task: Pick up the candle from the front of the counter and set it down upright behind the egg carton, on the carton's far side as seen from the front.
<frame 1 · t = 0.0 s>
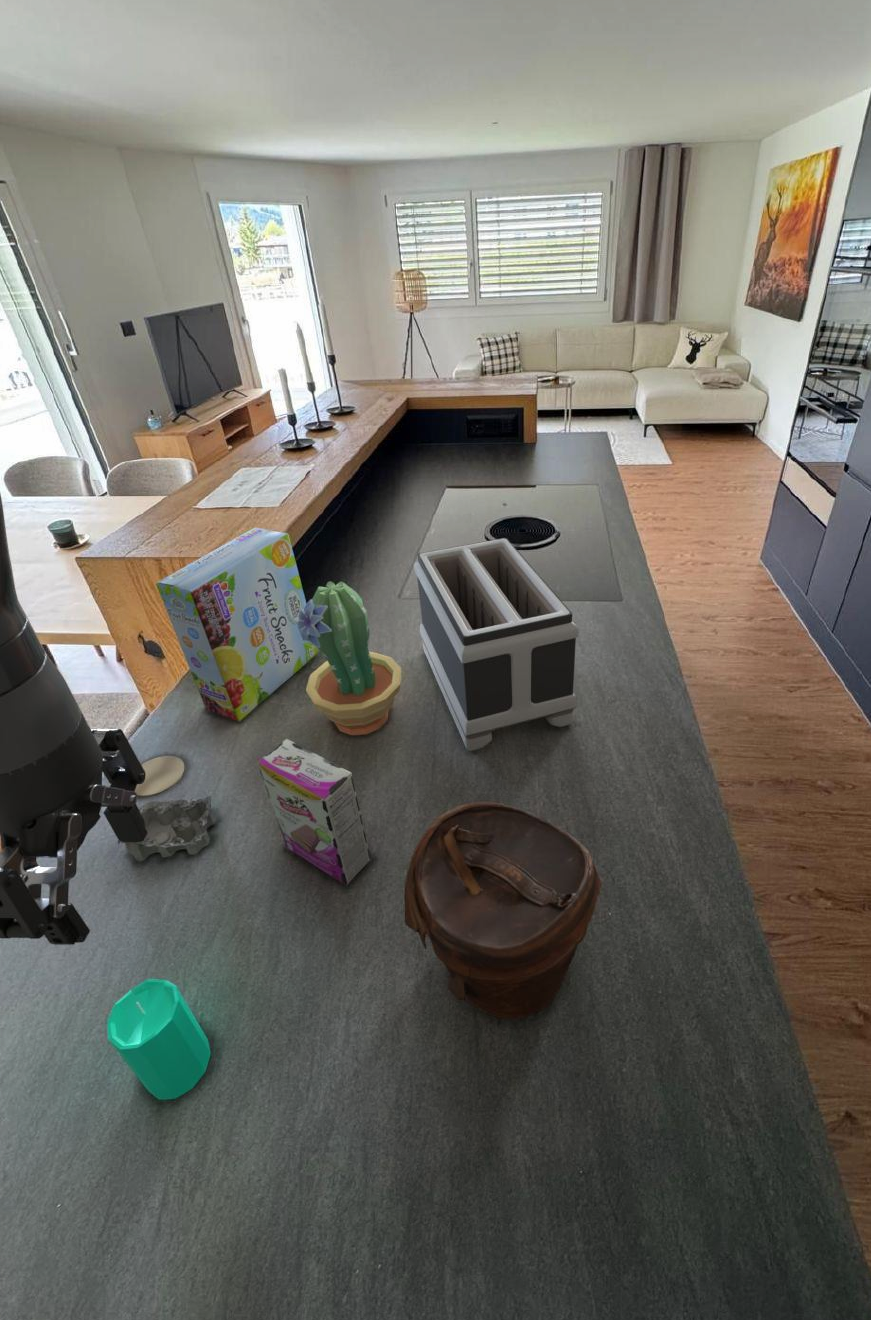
hand: (106, 884, 48), 26 cm above the worktop, tool pointing down, fingers open, 8 cm apart
egg carton: (175, 836, 84), on the worktop
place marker: (156, 775, 94), on the worktop
candy bar box: (328, 856, 81), on the worktop
snack box: (264, 681, 113), on the worktop
potted cactus: (362, 717, 103), on the worktop
toaster: (488, 679, 111), on the worktop
candle: (179, 1064, 61), on the worktop
case: (503, 956, 69), on the worktop
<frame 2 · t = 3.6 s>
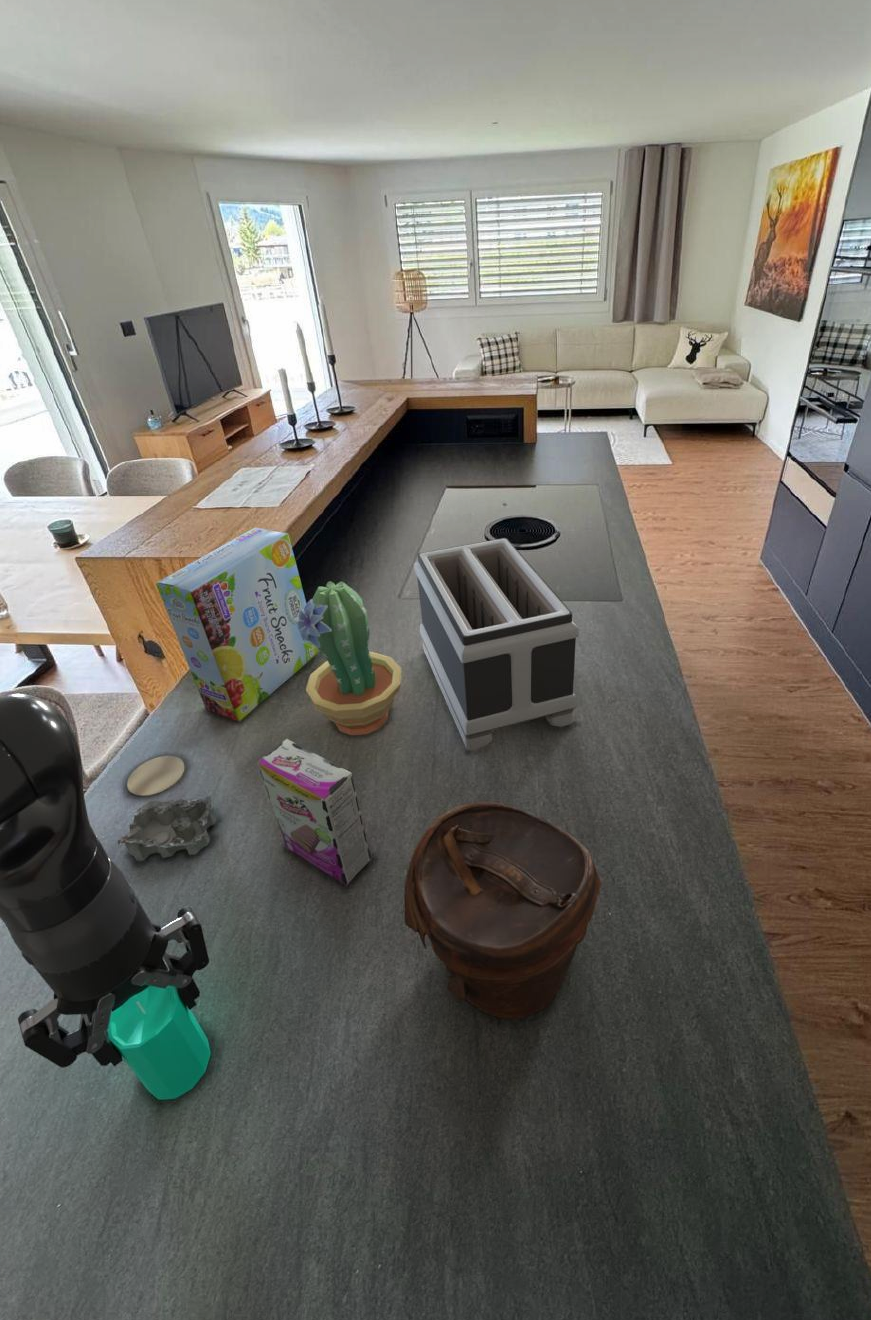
hand: (153, 1026, 57), 8 cm above the worktop, tool pointing down, fingers closed on candle, 6 cm apart
candle: (179, 1064, 61), on the worktop, touching gripper
everything else where it was.
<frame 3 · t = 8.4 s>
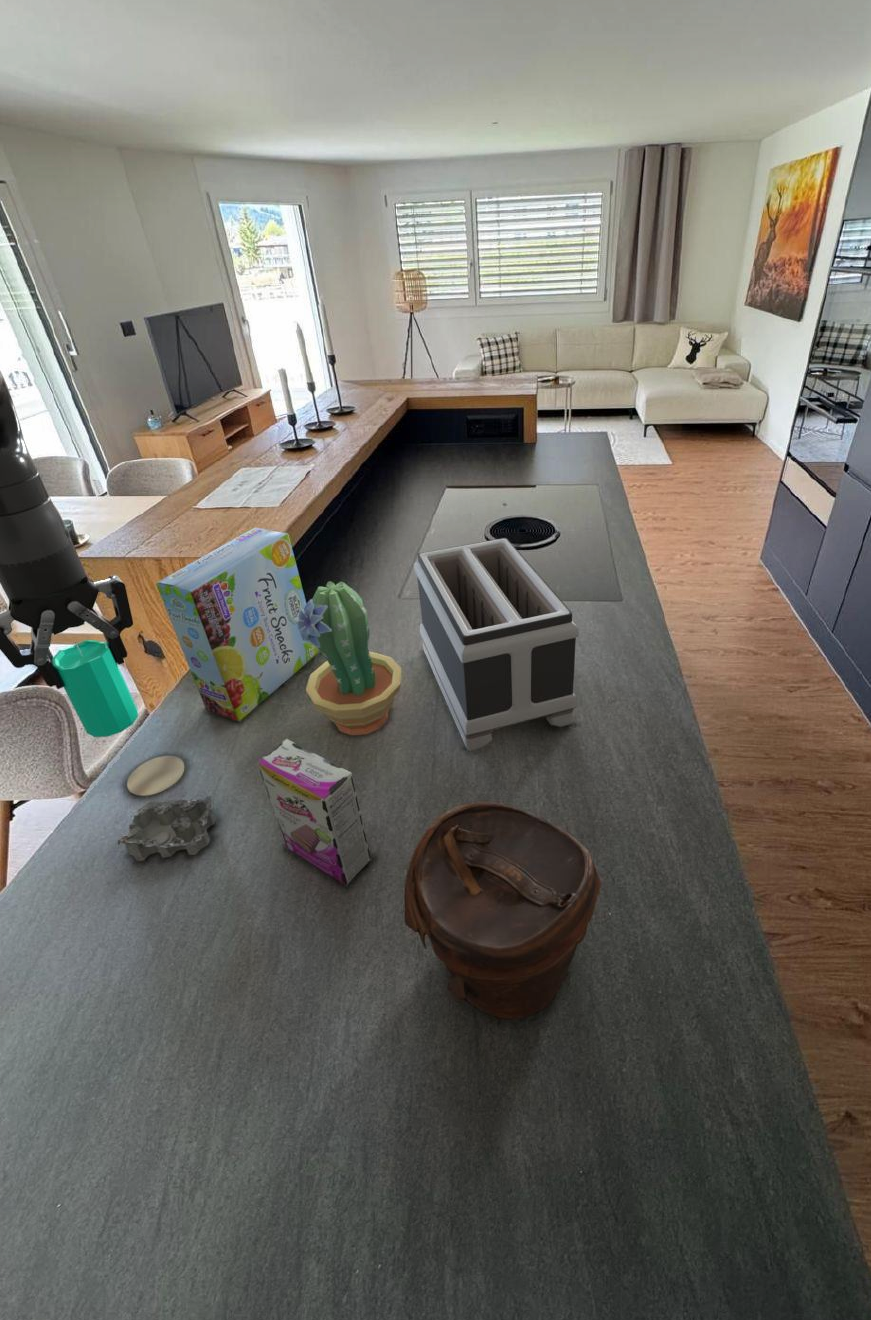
hand: (89, 672, 73), 25 cm above the worktop, tool pointing down, fingers closed on candle, 6 cm apart
candle: (113, 722, 78), point 18 cm above the worktop, touching gripper
everything else where it was.
when the fingers open (8 cm above the worktop, at t = 13.5 s): candle stays where it is, resting on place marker.
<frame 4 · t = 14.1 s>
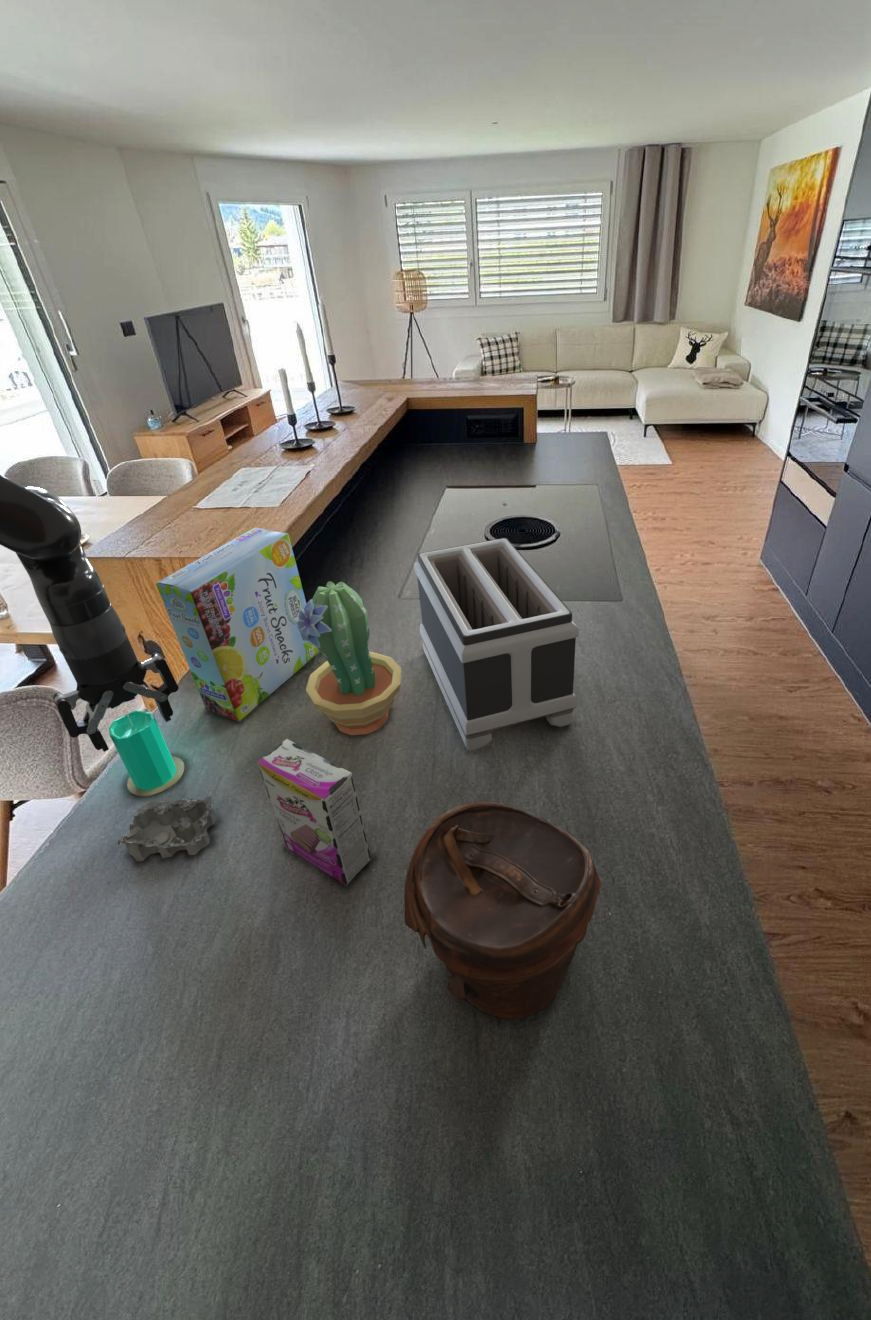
hand: (136, 732, 89), 9 cm above the worktop, tool pointing down, fingers open, 8 cm apart
candle: (155, 775, 94), resting on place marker
everything else where it was.
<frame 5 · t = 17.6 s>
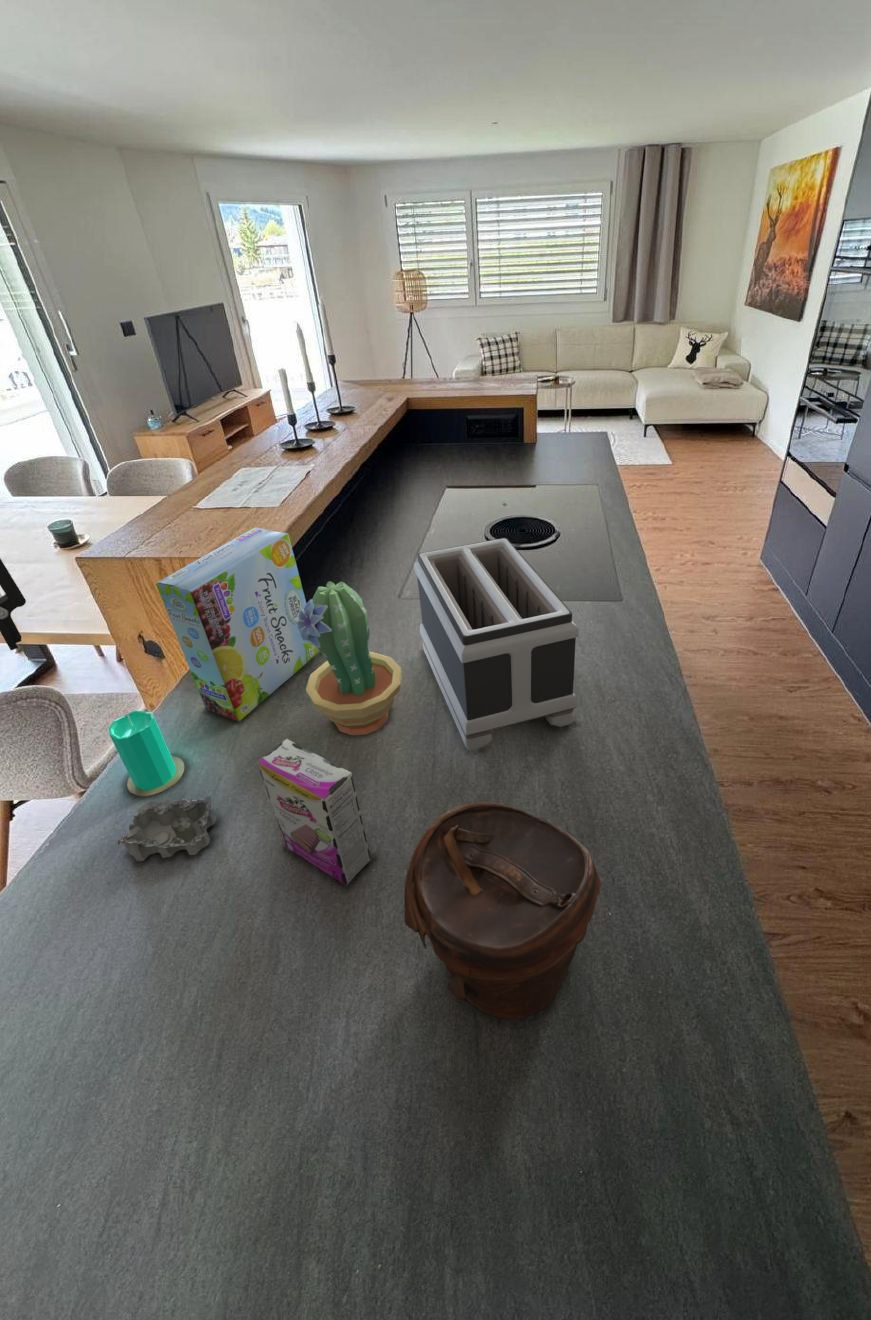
nothing on the worktop moved.
at the end: candle inside the target area on the worktop beside the egg carton (0.1 cm from its centre), resting on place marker; candle tilted 0°; egg carton moved 0.2 cm from its start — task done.
